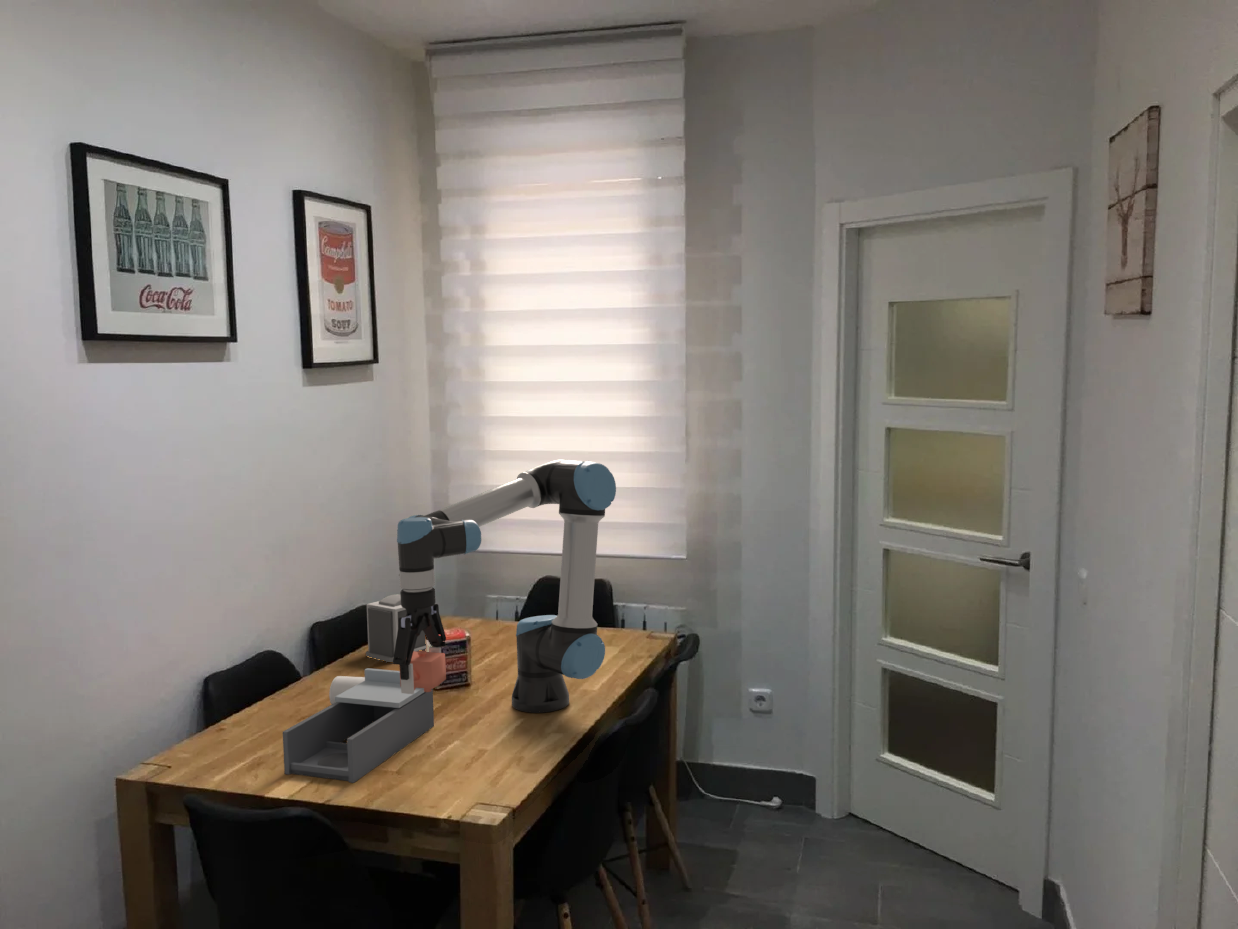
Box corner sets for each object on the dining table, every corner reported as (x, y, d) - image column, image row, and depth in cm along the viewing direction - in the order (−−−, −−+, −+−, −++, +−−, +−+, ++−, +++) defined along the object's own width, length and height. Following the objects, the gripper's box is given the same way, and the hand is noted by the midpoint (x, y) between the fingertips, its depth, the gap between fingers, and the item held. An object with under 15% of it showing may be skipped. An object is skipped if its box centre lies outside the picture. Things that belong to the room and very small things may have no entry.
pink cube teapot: (393, 696, 210) (391, 659, 209) (419, 678, 221) (417, 643, 221) (426, 698, 208) (424, 661, 207) (450, 680, 219) (448, 645, 218)
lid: (428, 689, 237) (428, 673, 237) (399, 708, 224) (398, 691, 223) (367, 683, 242) (367, 668, 242) (335, 701, 229) (334, 685, 229)
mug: (365, 713, 250) (363, 683, 249) (329, 711, 252) (328, 681, 251) (385, 698, 261) (384, 669, 261) (351, 696, 263) (350, 667, 263)
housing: (434, 726, 239) (432, 688, 238) (353, 782, 206) (351, 739, 205) (372, 719, 245) (371, 683, 244) (284, 774, 211) (282, 731, 210)
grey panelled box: (409, 643, 316) (407, 588, 314) (437, 649, 308) (435, 593, 306) (364, 657, 301) (361, 599, 299) (392, 663, 293) (390, 604, 292)
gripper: (429, 576, 225) (433, 666, 227) (372, 600, 202) (378, 700, 204) (458, 577, 223) (462, 668, 225) (404, 602, 200) (409, 703, 202)
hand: (422, 684), depth 215 cm, fingers closed on pink cube teapot, 12 cm apart
